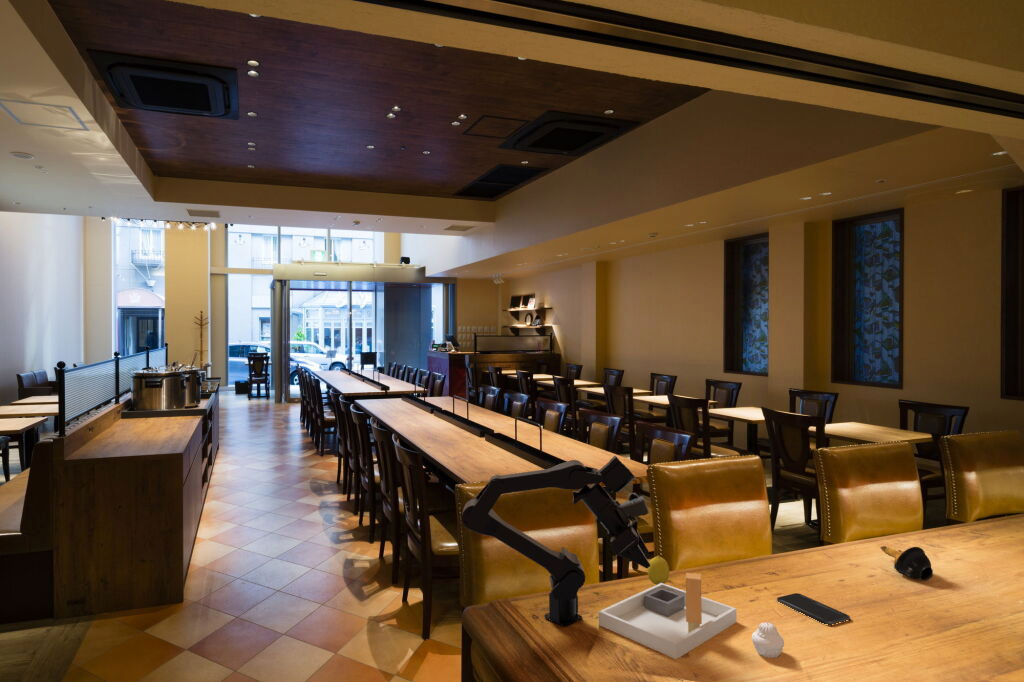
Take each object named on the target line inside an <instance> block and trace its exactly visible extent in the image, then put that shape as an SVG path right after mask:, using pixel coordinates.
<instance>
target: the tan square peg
mask: <svg viewBox="0 0 1024 682" xmlns="http://www.w3.org/2000/svg"><path fill="white" fill-rule="evenodd" d="M685 591H686V622H688V633H690V632H692V631H693V630H695V629H697V628H698V627H700V624H702V604H701V597H702V574H701V573H694V572H693V573H692V572H691V573H690V572H685Z"/></svg>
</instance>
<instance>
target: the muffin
mask: <svg viewBox="0 0 1024 682" xmlns="http://www.w3.org/2000/svg"><path fill="white" fill-rule="evenodd" d="M757 627H758V628H757V629H756V630H755V631H754V632H753V633H752V635H751V641H752V645H753V646H754V649H755V651H756V652H757V654H759V655H761V656H762V657H765V658H770V659H774V658H775V659H776V658H777V657H780V655H781V653H782V652H783V648H784V646H785V640H784V637H782V635H781V634H780V633H779V632H778V628H777V627H776V626H775V625H774V624H773V623H771V622H761V623H759V624H758V626H757Z"/></svg>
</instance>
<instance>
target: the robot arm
mask: <svg viewBox="0 0 1024 682" xmlns="http://www.w3.org/2000/svg"><path fill="white" fill-rule="evenodd" d="M635 479H636V477H635V475H634V473H632V471H631V470H630V469H629V468H628V466H626V464H624V463H623V462H622V461H621V460H620V459H619V458H618V457H617V456H616V455H614V456H613V457H611V458H610V459H609V461H608V462H607V463H606V464H604V465H603V466H602V467H601V468H600V469H598V468H595V467H591V466H585V465H584V463H583V462H581V461H579V460H577V459H569V460H568V461H565V462H562V463H559V464H557V465H554V466H552V467H549V468H547V469H545V468H544V469H537V470H532V471H531V470H530V471H524V472H517V473H510V474H509V473H508V474H502V475H499V474H495V475H493V476H491V477H490V479H489V480H488V482H487V483H486V485H484V487H483V488H482V489H481V490H480V491H479V493H478V494H477V495H476V496H475V498H472V499H470V500H468V501H467V502H466V503H465V505H464V507H463V510H462V514H461V522H462V525H463V526H464V527H465V529H467V530H469V531H472V532H474V533H476V534H479V535H482V536H488V537H493V538H495V539H496V540H498V541H500V542H501V543H503V544H504V545H506V546H508V547H509V548H511V549H513V550H514V551H516V552H518V553H520V554H521V555H522V556H524V557H526V558H528V559H529V560H531V561H533V562H535V564H537V565H539V566H541V567H542V568H544V569H545V570H546V571H547V572H548V573H549V583H550V587H551V590H550V592H548V601H549V602H548V604H549V605H548V608H549V609H548V610H549V611H548V613H547V614H544V619H546V618H547V619H546V620H548V619H550V620H552V621H554V622H556V623H555V624H557V623H558V624H557V625H559V624H560V625H559V626H561V625H562V626H561V627H567V626H569V625H572V624H573V623H575V622H578V621H580V620H582V619H583V615H581V614H578V613H579V595H578V592H579V589H581V588H582V587H583V586H584V585H585V582H586V574H585V571H584V567H583V565H582V562H581V561H580V560H579V558H578V555H577V554H576V553H573V552H570V551H569V550H568V549H566V548H565V547H564V546H562V547H561V550H560V551H558V550H557V551H556V550H554V549H551V548H549V547H547V546H546V545H544V544H543V543H541V542H539V541H538V540H536V539H535V538H532V537H531V536H530V535H528V534H527V533H526V532H525V533H524V532H523V531H521V530H519V529H518V528H516V527H515V526H513V525H511V524H510V523H508V522H506V521H505V520H504V519H503V518H501V517H500V516H499V515H498V514H497V512H495V510H494V509H493V508H494V506H495V504H496V503H497V501H498V500H499V498H500V497H501V495H504V494H505V495H506V494H512V493H518V492H527V491H532V490H540V489H541V490H542V489H549V488H556V489H561V490H572V495H573V496H572V497H573V498H572V503H573V505H576V504H578V503H579V502H580V501H581V502H582V503H584V505H585V506H586V507H587V508H588V510H589V511H590V512H591V513H592V514H593V516H594V517H595V522H597V524H601V525H602V527H603V528H604V529H605V530H606V531H607V535H608V536H609V538H610V545H609V549H610V550H611V551H612V552H613V554H614V555H615V556H619V557H622V558H625V559H627V560H629V561H631V562H633V563H636V565H639V566H641V567H643V568H645V569H648V567H650V563H649V562H650V561H649V560H648V558H647V557H646V555H648V554H649V549H648V547H647V546H646V543H645V542H644V540H643V538H642V536H641V535H640V532H639V530H638V524H639V523H638V522H639V521H638V517H641V516H646V515H648V514H649V513H650V512H649V508H648V506H647V502H646V500H645V498H644V496H643V495H638V494H637V493H636V492H632V493H630V494H628V500H625V502H622V503H620V501H619V500H616V499H613V498H612V497H611V495H610V493H613V494H615V493H616V494H619V493H620V492H621V491H622V490H623V489H624V488H625V487H627V486H628V485H629V484H630V483H631V482H632V481H634V480H635ZM601 483H602V484H603V485H604V486H605V487H606V488H607V490H608V491H609V492H610V493H608V491H606V489H605V488H604V487H603V486H602V485H601ZM576 490H577V491H576ZM632 520H633V521H632ZM550 620H549V621H550ZM552 621H551V622H552ZM554 622H553V623H554ZM571 623H572V624H571ZM566 625H567V626H566Z"/></svg>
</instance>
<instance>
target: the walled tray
mask: <svg viewBox="0 0 1024 682" xmlns="http://www.w3.org/2000/svg"><path fill="white" fill-rule="evenodd" d="M701 604H702V624H700V627H698V628H697V629H695V630H693V631H692V632H690V633H688V622H686V590H683V589H681V588H678V587H675V586H672V585H669V584H666V583H665V584H663V583H660V584H657V585H656V584H655V585H653V586H651V587H649V588H647V589H644V590H643V591H640V592H637V593H636V594H634V595H632V596H629V597H627V598H625V599H623V600H620V601H618V602H616V603H614V604H612V605H609V606H608V607H606V608H603V609H601V610H599V611H598V629H600V628H601V627H603V628H604V629H606V630H609V631H611V632H613V633H616V634H618V635H620V636H622V637H624V638H628V639H629V640H632V641H633V642H636V643H638V644H641V645H642V646H645V647H647V648H650V649H652V650H654V651H657V652H658V653H660V654H663V655H666V656H668V657H669V658H672V659H674V660H678V659H679V658H681V657H683V656H684V655H686V654H687V653H689V652H690V651H692V650H693V649H695V648H697V647H698V646H700V645H701V644H703V643H705V642H707V641H708V640H710V639H711V638H713V637H714V636H716V635H719V633H721V632H723V631H725V630H726V629H728V628H729V627H731V626H732V625H734V624H736V623H737V620H738V619H737V616H738V614H737V608H736V607H735V606H734V607H733V606H731V605H728V604H726V603H722V602H719V601H716V600H713V599H710V598H707V597H705V596H701Z"/></svg>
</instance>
